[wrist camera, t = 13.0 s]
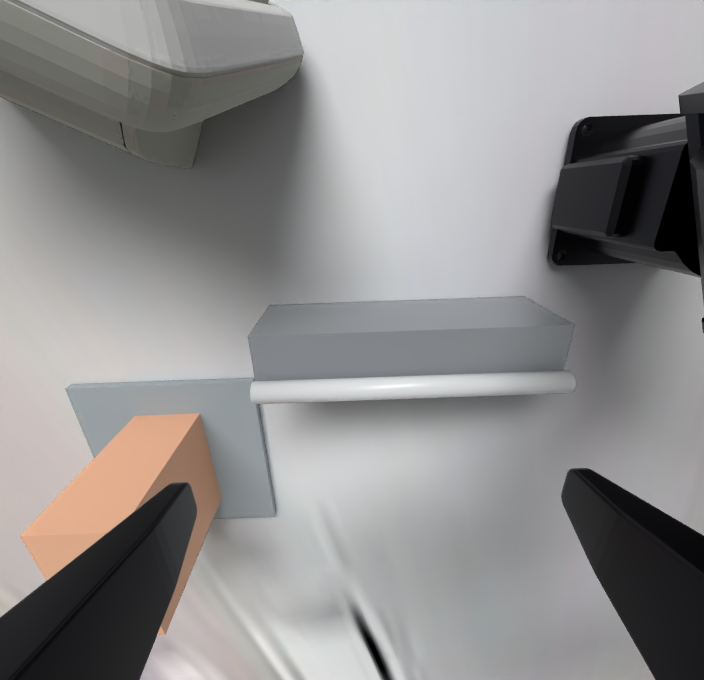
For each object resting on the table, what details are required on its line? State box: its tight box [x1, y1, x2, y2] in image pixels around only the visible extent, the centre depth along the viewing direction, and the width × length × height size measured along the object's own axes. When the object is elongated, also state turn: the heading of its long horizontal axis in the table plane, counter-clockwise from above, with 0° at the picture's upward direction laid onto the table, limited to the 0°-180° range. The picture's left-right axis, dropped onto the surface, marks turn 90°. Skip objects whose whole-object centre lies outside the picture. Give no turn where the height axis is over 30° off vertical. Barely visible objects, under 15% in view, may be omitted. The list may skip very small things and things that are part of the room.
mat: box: [65, 378, 276, 519], centre depth 23 cm, size 11×11×1 cm
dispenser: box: [248, 296, 576, 404], centre depth 17 cm, size 14×3×6 cm, turn 92°
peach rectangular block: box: [20, 413, 222, 635], centre depth 19 cm, size 4×7×8 cm, turn 2°
